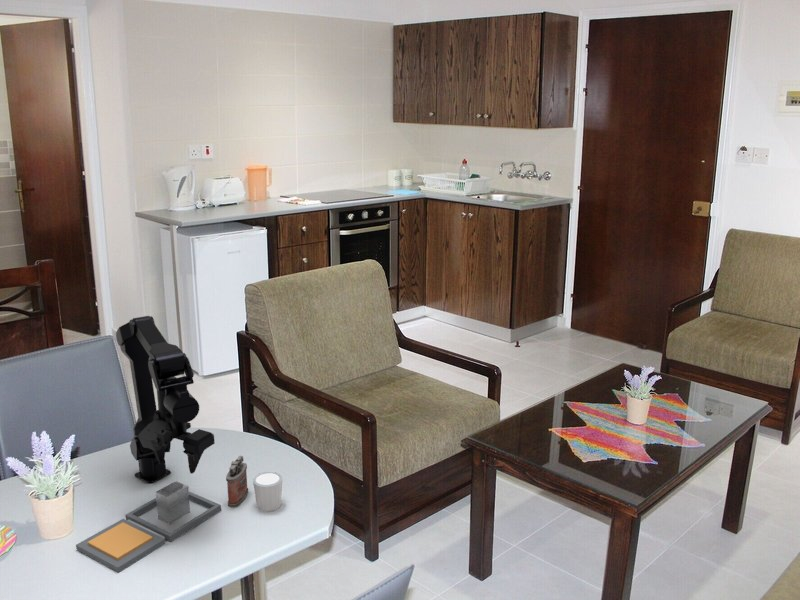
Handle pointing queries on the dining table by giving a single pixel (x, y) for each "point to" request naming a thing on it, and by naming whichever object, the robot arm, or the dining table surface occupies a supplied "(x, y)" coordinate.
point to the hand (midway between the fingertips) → (176, 467)
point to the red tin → (237, 482)
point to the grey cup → (268, 490)
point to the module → (172, 502)
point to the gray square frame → (171, 536)
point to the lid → (121, 544)
